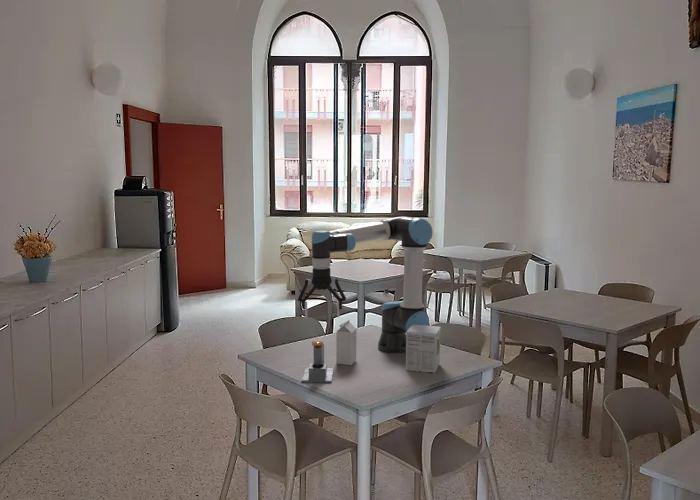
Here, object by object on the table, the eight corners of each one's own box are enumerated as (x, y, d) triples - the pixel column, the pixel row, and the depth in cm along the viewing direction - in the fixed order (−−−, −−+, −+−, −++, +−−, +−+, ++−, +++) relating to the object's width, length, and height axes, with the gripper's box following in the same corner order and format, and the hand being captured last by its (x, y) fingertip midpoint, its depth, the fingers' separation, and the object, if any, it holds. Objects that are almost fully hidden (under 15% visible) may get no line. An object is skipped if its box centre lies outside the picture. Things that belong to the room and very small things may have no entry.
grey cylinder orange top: (323, 373, 263) (323, 340, 262) (322, 376, 259) (322, 343, 257) (312, 373, 263) (312, 340, 262) (311, 376, 259) (311, 343, 257)
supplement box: (435, 373, 267) (436, 333, 265) (405, 370, 271) (405, 331, 269) (440, 364, 280) (441, 326, 278) (411, 361, 284) (412, 324, 282)
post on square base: (333, 370, 270) (333, 343, 269) (331, 383, 255) (331, 354, 253) (306, 370, 271) (305, 343, 269) (301, 382, 255) (301, 353, 253)
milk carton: (356, 361, 284) (356, 320, 281) (351, 365, 277) (351, 323, 275) (341, 359, 286) (341, 318, 284) (336, 364, 279) (336, 322, 277)
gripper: (351, 265, 266) (351, 314, 269) (292, 266, 266) (293, 315, 269) (351, 268, 258) (351, 318, 261) (290, 269, 259) (292, 319, 262)
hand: (322, 317), depth 265 cm, fingers open, 13 cm apart
